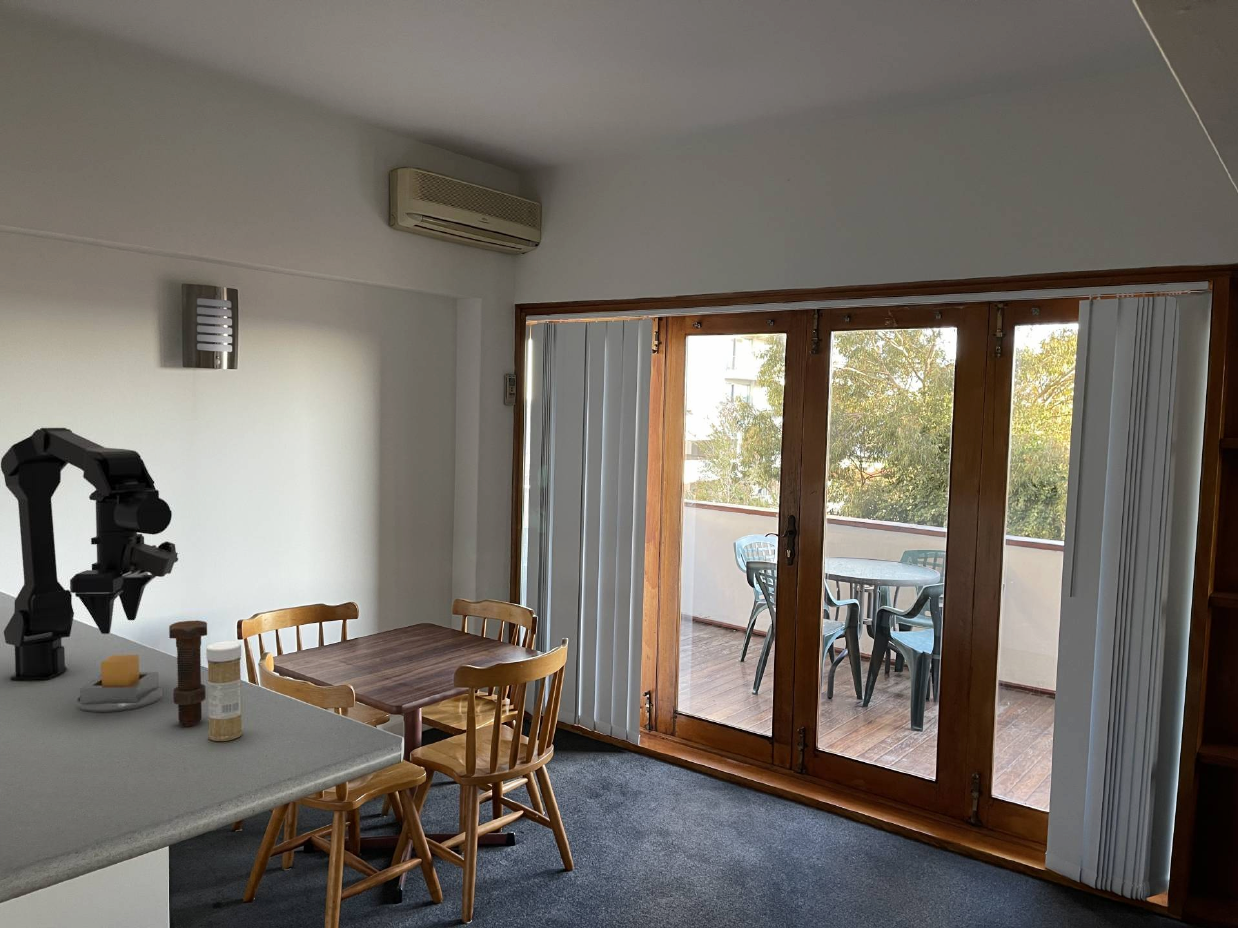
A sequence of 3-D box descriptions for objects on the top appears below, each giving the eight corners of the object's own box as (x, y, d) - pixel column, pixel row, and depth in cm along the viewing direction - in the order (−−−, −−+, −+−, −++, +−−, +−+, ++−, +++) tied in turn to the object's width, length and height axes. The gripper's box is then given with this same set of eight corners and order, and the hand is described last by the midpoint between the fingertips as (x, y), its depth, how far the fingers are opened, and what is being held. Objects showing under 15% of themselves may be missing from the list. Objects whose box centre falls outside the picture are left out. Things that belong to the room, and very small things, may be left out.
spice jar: (241, 729, 136) (240, 638, 135) (243, 739, 131) (242, 646, 131) (207, 733, 134) (205, 642, 133) (208, 744, 129) (206, 649, 129)
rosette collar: (62, 712, 142) (61, 691, 142) (99, 689, 154) (98, 669, 154) (144, 711, 143) (143, 690, 143) (174, 688, 155) (173, 668, 155)
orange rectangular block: (102, 699, 146) (101, 661, 146) (113, 691, 150) (112, 655, 150) (128, 698, 147) (127, 661, 146) (139, 691, 151) (138, 654, 150)
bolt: (217, 718, 140) (216, 620, 139) (199, 730, 135) (197, 628, 134) (181, 717, 141) (179, 619, 140) (161, 728, 136) (159, 627, 135)
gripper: (145, 537, 138) (147, 640, 139) (191, 522, 157) (192, 613, 158) (66, 537, 137) (69, 641, 138) (122, 522, 156) (124, 613, 157)
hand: (119, 626), depth 148 cm, fingers open, 9 cm apart
